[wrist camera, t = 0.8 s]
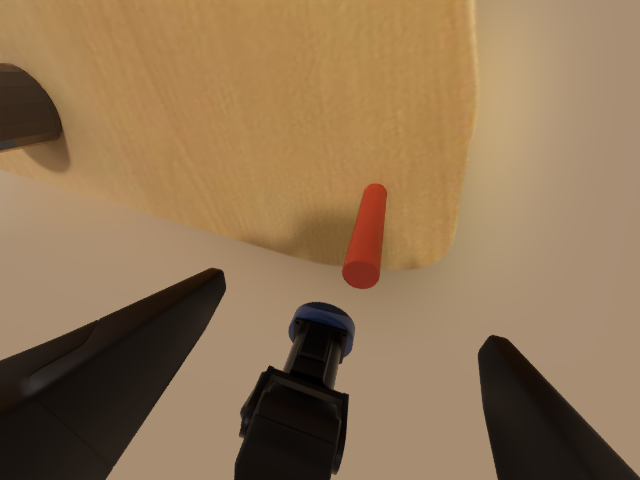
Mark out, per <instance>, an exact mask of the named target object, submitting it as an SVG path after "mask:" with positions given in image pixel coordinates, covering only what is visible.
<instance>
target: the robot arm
mask: <svg viewBox="0 0 640 480" xmlns="http://www.w3.org/2000/svg"><path fill="white" fill-rule="evenodd" d="M225 291H226V283H225V277H224V273H223V271H222V270H220V269H216V268H210V269H207V270H205V271H203V272H201V273H199V274H196V275H194V276H192V277H190V278H188V279H185V280H183V281H181V282H179V283H177V284H175V285H173V286H170V287H168V288H166V289H164V290H162V291H159V292H157V293H155V294H153V295H151V296H149V297H146V298H144V299H142V300H140V301H137V302H135V303H133V304H131V305H129V306H127V307H124V308H122V309H120V310H118V311H116V312H113V313H111V314H109V315H107V316H105V317H103V318H100V319H99V320H96V321H94V322H91V323H89V324H87V325H85V326H83V327H80V328H78V329H76V330H74V331H72V332H69V333H67V334H65V335H62V336H60V337H58V338H55V339H53V340H51V341H48V342H46V343H43V344H41V345H38V346H36V347H33V348H31V349H28V350H26V351H23V352H21V353H18V354H16V355H13V356H11V357H8V358H6V359H3V360H1V361H0V480H106V478H107V477H108V475H109V474H110V472H111V471H112V469H113V467H114V466H115V464H116V463H117V461H118V460H119V458H120V457H121V455H122V454H123V452H124V451H125V449H126V448H127V446H128V445H129V443H130V442H131V440H132V439H133V437H134V436H135V434H136V433H137V431H138V430H139V428H140V427H141V425H142V424H143V422H144V421H145V419H146V417H147V416H148V415H149V413H150V412H151V410H152V409H153V407H154V406H155V404H156V403H157V401H158V400H159V398H160V397H161V395H162V394H163V392H164V391H165V389H166V388H167V386H168V385H169V383H170V382H171V380H172V379H173V377H174V376H175V374H176V373H177V371H178V370H179V368H180V367H181V365H182V364H183V362H184V361H185V359H186V357H187V356H188V355H189V353H190V352H191V350H192V349H193V347H194V346H195V344H196V343H197V341H198V340H199V338H200V337H201V335H202V334H203V332H204V330H205V329H206V327H207V325H208V324H209V322H210V320H211V318H212V316H213V314H214V312H215V310H216V308H217V306H218V304H219V303H220V301H221V299H222V297H223V295H224V293H225ZM348 334H349V332H348V331H347V330H345V329H342V328H338V327H334V326H331V325H327V324H323V323H319V322H315V321H312V320H308V319H304V318H300V317H296V318H295V320H294V329H293V345H292V348H291V351H290V354H289V356H288V359H287V361H286V364H285V366H284V369H283V371H281V370H278V369H275V368H274V367H272V366H269V367H268V369H267V371H265V372H262V373H261V375H260V377H259V380H258V382H257V384H256V386H255V388H254V390H253V391H252V393H251V394H250V396H249V397H248V399H247V401H246V402H245V404H244V405H243V407H242V409H241V411H240V415H241V418H242V422H241V429H240V433H239V437H241V438H244V441H243V443H242V446H241V448H240V451H239V454H238V457H237V459H236V462H235V476H234V477H235V478H234V480H330V478H331V474H334V475H336V474H337V472H338V470H339V467H340V464H341V460H342V456H343V451H344V446H345V440H346V429H347V415H348V400H349V394H346V393H341V392H338V391H335V390H334V385H335V379H336V375H337V370H338V365H339V364H341V363H342V360H343V356H344V352H345V348H346V343H347V339H348ZM478 363H479V374H480V384H481V394H482V403H483V410H484V415H485V420H486V425H487V430H488V435H489V439H490V444H491V449H492V454H493V459H494V463H495V468H496V473H497V478H498V480H640V477H639V476H638V475H637V474H636V473H635V472H634V471H633V470H632V469H631V468H630V467H629V466H628V465H627V464H626V463H625V462H624V460H623V459H621V457H620V456H619V455H618V454H617V453H616V452H615V451H614V450H613V449H612V448H611V447H610V446H609V445H608V444H607V443H606V442H605V441H604V439H603V438H602V437H601V436H600V435H599V434H598V433H597V432H596V431H595V430H594V429H593V428H592V427H591V426H590V425H589V424H588V423H587V422H586V421H585V420H584V419H583V417H582V416H581V415H580V414H579V413H578V412H577V411H576V410H575V409H574V408H573V407H572V406H571V405H570V404H569V403H568V402H567V401H566V400H565V399H564V398H563V397H562V395H561V394H560V393H559V392H558V391H557V390H556V389H555V388H554V387H553V386H552V385H551V384H550V383H549V382H548V381H547V380H546V379H545V378H544V377H543V376H542V375H541V373H539V371H538V370H537V369H536V368H535V367H534V366H533V365H532V364H531V363H530V362H529V361H528V360H527V359H526V358H525V357H524V356H523V355H522V354H521V353H520V351H519V350H518V349H517V348H516V347H515V346H514V345H513V344H512V343H511V342H510V341H509V340H508V339H506V338H503V337H499V336H495V335H491V336H489V337H488V339H487V340H486V341H485V343H484V344H483V346H482V347H481V348H480V350H479V352H478Z"/></svg>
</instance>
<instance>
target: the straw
mask: <svg viewBox="0 0 640 480" xmlns="http://www.w3.org/2000/svg"><path fill="white" fill-rule="evenodd" d="M386 197H387V192H386V190H385V188H384V187H383V186H382V185H380V184H371V185H369V186H368V187H367V188H366V189H365V191H364V194H363V198H362V201H361V205H360V208H359V212H358V216H357V219H356V223H355V226H354V230H353V234H352V237H351V241H350V244H349V248H348V252H347V255H346V259H345V262H344V266H343V270H342V275H343V278H344V280H345V281H346V282H347V283H348V284H349V285H351V286H352V287H355V288H359V289H367V288H370V287H373V286H374V285H375V284H376V283H377V282H378V280H379V276H380V275H379V274H380V264H381V253H382V242H383V230H384V219H385V208H386Z"/></svg>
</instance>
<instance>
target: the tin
mask: <svg viewBox="0 0 640 480" xmlns="http://www.w3.org/2000/svg"><path fill="white" fill-rule="evenodd" d="M60 133H61V124H60V119H59V116H58V113H57V111H56V109H55V107H54V105H53V103H52V101H51V100H50V98H49V97H48V95H47V94H46V92H45V91H44V90H43V88H42V87H41V86H40V85H39V84H38V83H37V82H36V81H35V80H34V79H33V78H32V77H31V76H30V75H29V74H27V73H26V72H25V71H23V70H22V69H20V68H19V67H17V66H15V65H12V64H9V63H0V153H3V152H8V151H13V150H17V149H22V148H27V147H32V146H37V145H42V144H47V143H49V142H53V141H55V140H57V139H58V138H59V136H60Z"/></svg>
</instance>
